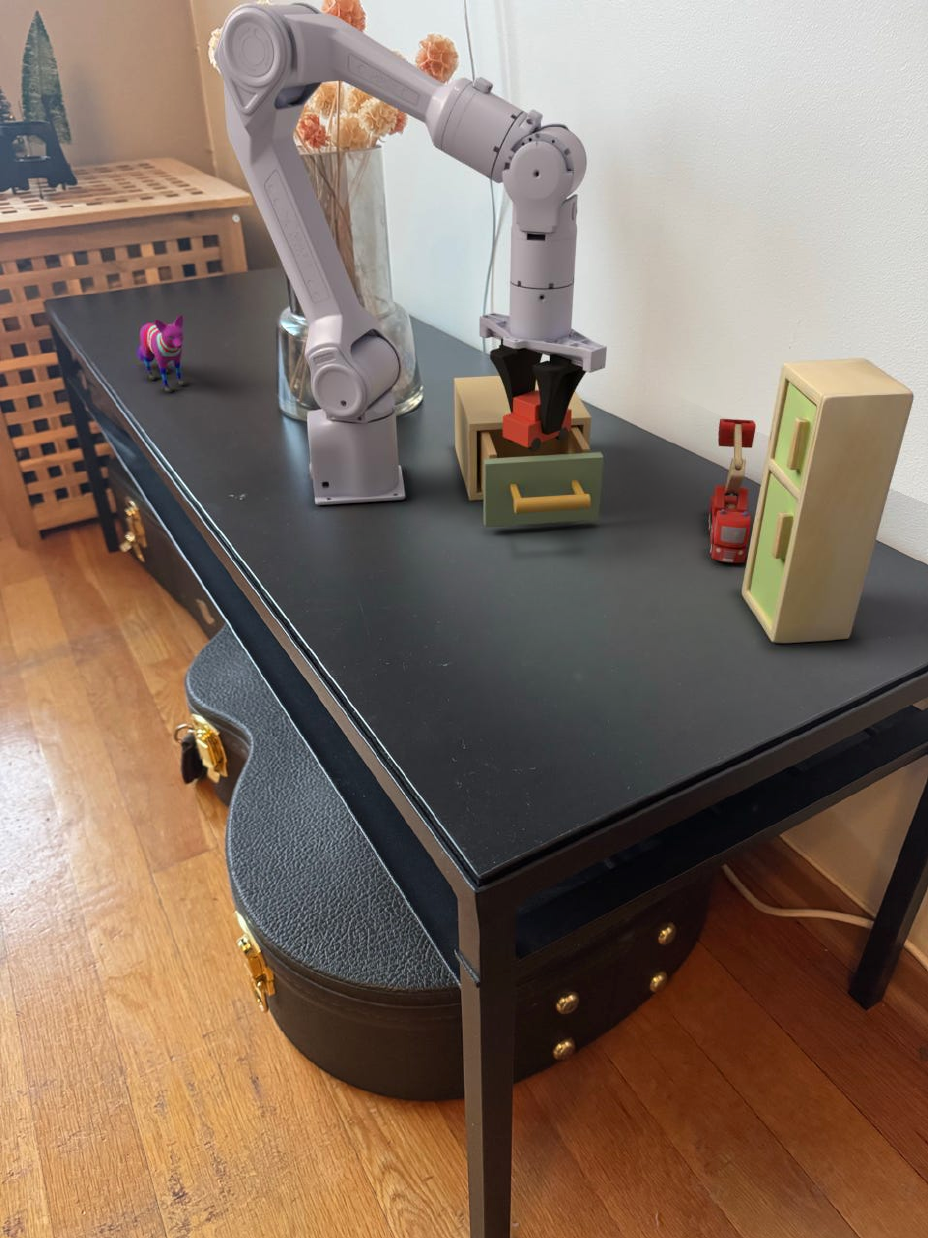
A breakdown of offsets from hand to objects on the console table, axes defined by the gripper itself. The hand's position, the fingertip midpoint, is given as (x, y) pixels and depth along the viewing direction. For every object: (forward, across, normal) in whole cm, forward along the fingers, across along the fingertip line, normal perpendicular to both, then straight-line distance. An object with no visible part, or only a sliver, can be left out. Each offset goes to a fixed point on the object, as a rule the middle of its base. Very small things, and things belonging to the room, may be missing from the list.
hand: (536, 425), depth 88 cm
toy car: (+2, 0, 0) cm, 2 cm away
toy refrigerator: (+10, +28, +2) cm, 30 cm away
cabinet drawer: (+8, +1, 0) cm, 9 cm away
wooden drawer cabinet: (+9, -8, +6) cm, 14 cm away
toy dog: (+10, -62, -10) cm, 64 cm away
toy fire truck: (+10, +16, +11) cm, 22 cm away
